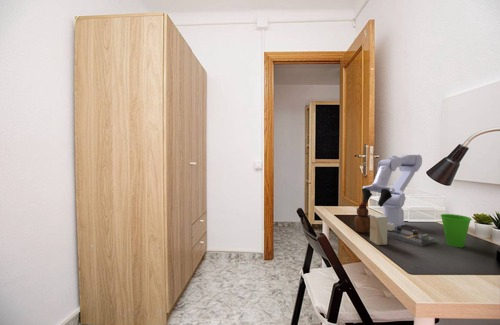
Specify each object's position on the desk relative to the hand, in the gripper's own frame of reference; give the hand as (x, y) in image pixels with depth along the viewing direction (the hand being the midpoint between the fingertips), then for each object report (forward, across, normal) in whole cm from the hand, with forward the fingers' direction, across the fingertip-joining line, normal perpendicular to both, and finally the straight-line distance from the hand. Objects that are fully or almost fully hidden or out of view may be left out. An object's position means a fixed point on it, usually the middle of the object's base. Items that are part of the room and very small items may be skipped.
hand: (371, 204), depth 107 cm
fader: (+6, +6, +10) cm, 13 cm away
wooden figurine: (+12, -3, +5) cm, 13 cm away
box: (+17, +9, 0) cm, 19 cm away
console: (+8, +10, +12) cm, 17 cm away
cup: (+4, +26, +18) cm, 32 cm away
